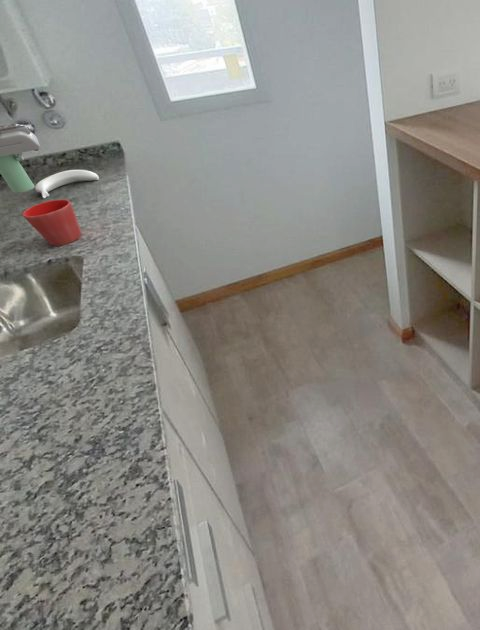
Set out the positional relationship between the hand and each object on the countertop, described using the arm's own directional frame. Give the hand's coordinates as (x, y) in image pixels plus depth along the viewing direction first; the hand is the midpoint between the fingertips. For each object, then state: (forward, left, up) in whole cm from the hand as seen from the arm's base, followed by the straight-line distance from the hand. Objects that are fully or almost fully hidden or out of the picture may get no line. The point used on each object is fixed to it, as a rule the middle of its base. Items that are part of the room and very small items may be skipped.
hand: (6, 161), depth 121 cm
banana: (+4, +35, -20) cm, 41 cm away
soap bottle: (0, -1, -8) cm, 8 cm away
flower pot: (+5, -16, -20) cm, 26 cm away
